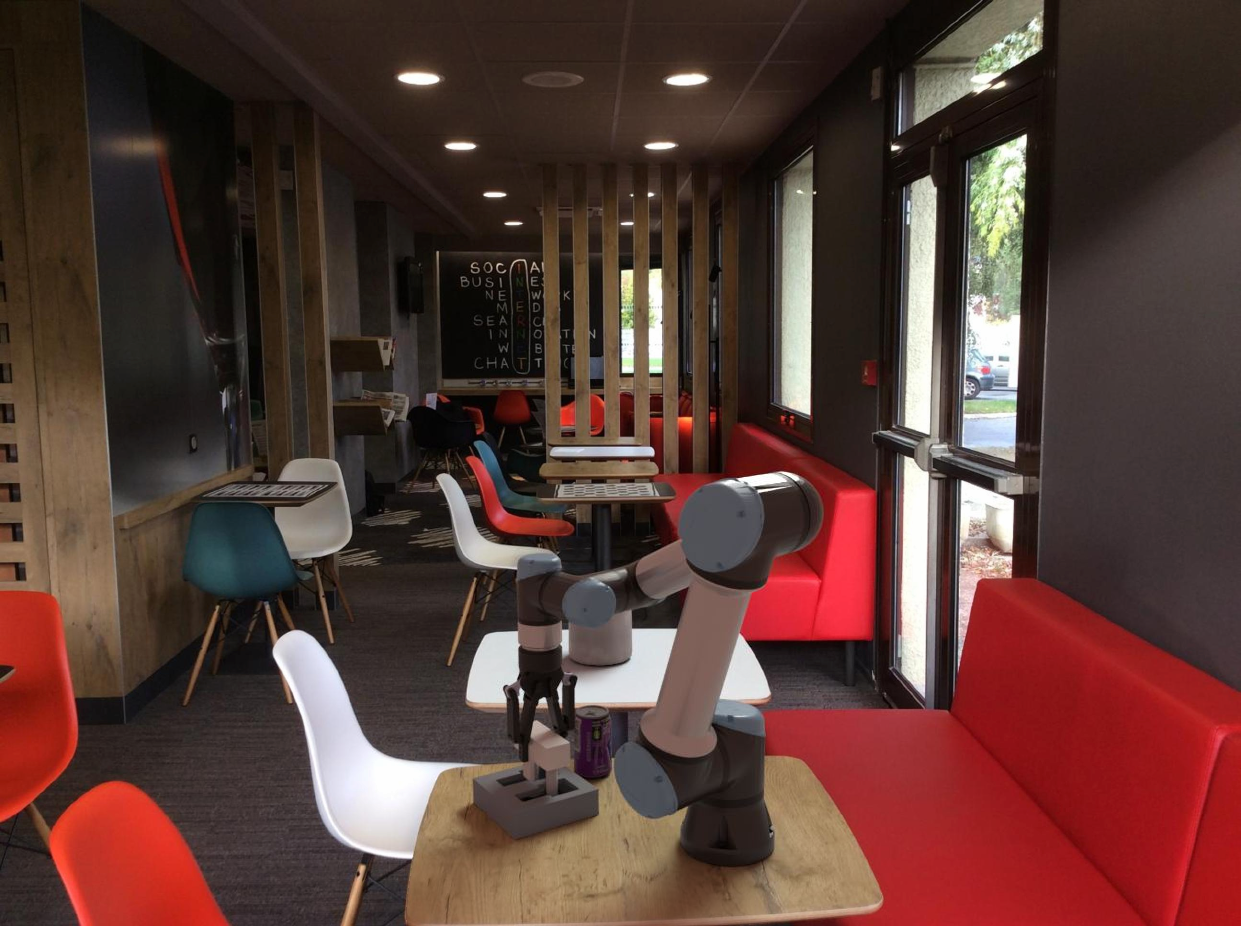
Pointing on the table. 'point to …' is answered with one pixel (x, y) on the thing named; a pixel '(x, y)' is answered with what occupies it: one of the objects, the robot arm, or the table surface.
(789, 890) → the table surface
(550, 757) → the bar
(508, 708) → the robot arm
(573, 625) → the planter
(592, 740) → the beverage can
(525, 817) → the keyhole board
